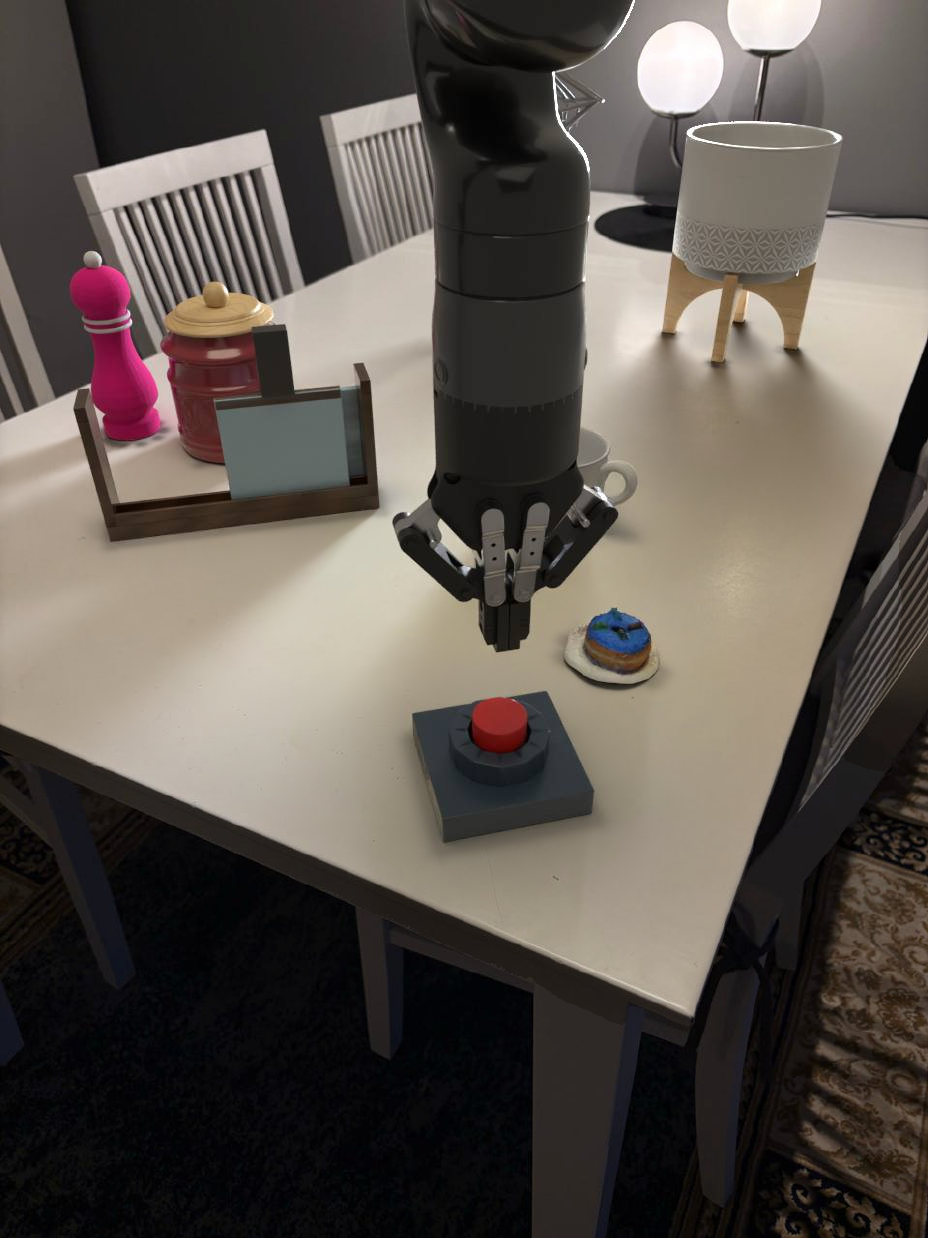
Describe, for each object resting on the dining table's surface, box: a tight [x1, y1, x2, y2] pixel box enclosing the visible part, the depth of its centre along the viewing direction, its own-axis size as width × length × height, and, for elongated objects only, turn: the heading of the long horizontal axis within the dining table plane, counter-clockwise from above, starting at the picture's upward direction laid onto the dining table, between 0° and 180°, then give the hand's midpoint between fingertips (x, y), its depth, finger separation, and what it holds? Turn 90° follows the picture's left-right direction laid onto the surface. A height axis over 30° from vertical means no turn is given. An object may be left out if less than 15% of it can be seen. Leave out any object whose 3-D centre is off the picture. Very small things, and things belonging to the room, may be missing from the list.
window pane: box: [214, 323, 350, 500], centre depth 85 cm, size 12×2×17 cm, turn 104°
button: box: [472, 696, 527, 754], centre depth 60 cm, size 4×4×2 cm
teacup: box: [555, 425, 639, 528], centre depth 87 cm, size 14×11×8 cm
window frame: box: [72, 362, 381, 542], centre depth 87 cm, size 26×4×14 cm, turn 104°
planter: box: [661, 121, 844, 363], centre depth 121 cm, size 19×19×26 cm
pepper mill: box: [69, 250, 162, 441], centre depth 101 cm, size 7×7×20 cm
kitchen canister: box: [159, 281, 277, 464], centre depth 99 cm, size 13×13×18 cm
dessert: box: [563, 607, 660, 685], centre depth 72 cm, size 8×7×6 cm
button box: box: [411, 690, 595, 843], centre depth 61 cm, size 10×10×4 cm
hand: (503, 643), depth 56 cm, fingers closed
